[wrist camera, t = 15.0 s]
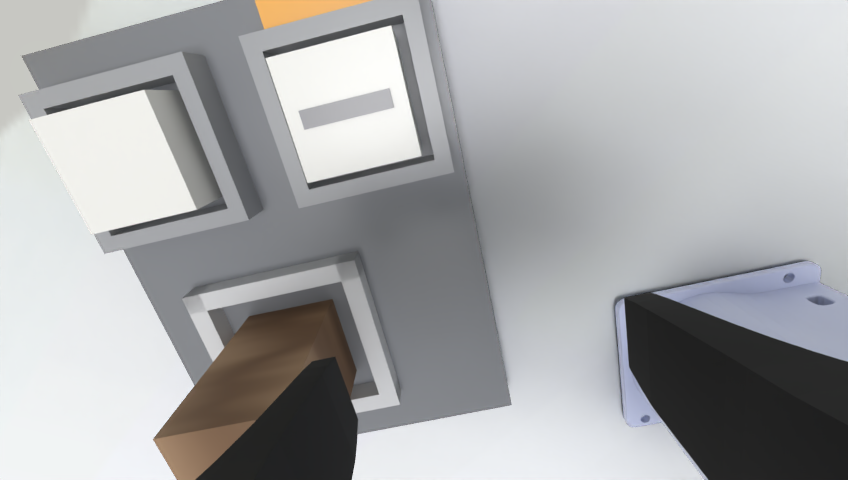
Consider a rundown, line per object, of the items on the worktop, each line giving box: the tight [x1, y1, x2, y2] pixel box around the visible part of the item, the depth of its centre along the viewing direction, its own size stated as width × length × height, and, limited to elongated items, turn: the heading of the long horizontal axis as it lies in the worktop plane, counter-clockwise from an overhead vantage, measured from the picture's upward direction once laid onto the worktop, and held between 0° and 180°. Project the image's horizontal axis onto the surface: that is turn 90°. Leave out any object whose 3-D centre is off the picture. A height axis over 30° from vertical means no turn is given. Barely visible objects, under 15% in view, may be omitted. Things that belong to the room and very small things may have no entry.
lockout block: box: [153, 299, 357, 480], centre depth 16 cm, size 4×4×7 cm
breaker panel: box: [19, 0, 511, 434], centre depth 17 cm, size 15×20×4 cm
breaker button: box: [266, 25, 422, 183], centre depth 14 cm, size 4×4×3 cm
